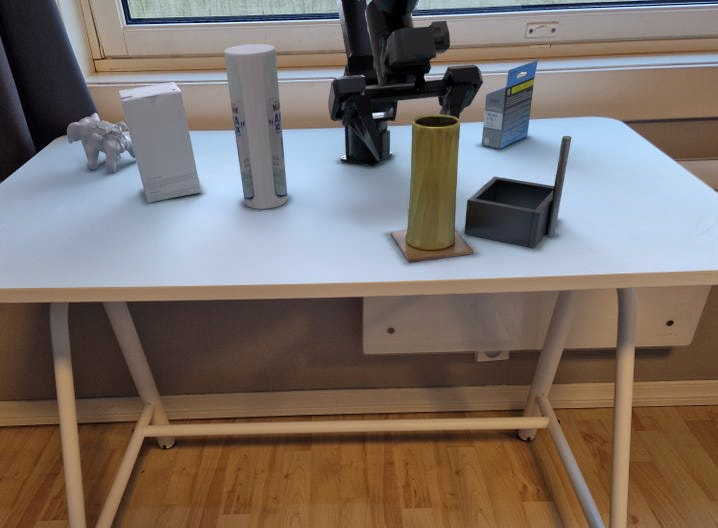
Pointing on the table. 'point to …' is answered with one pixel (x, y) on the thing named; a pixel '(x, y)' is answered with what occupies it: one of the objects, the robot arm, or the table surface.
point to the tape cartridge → (509, 109)
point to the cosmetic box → (161, 140)
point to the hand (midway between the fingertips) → (416, 155)
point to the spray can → (257, 123)
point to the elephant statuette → (100, 140)
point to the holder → (517, 207)
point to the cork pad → (419, 255)
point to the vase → (433, 182)
